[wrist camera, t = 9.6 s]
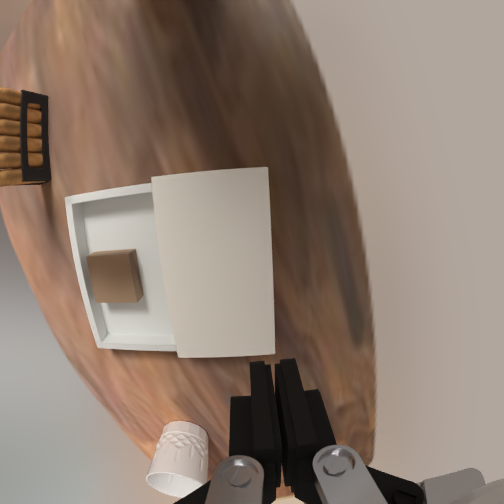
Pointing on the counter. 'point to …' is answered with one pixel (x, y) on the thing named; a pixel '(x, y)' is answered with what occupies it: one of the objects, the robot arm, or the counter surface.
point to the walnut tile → (115, 276)
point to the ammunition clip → (23, 138)
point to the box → (146, 244)
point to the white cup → (179, 460)
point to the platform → (217, 261)
